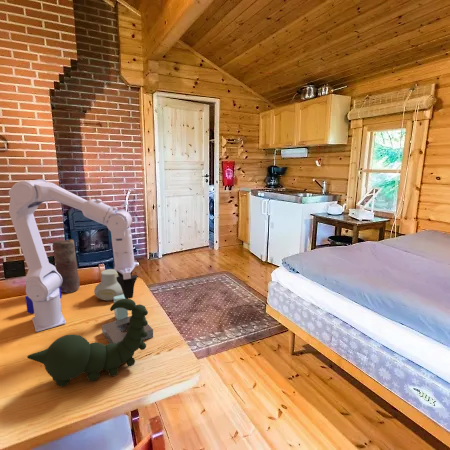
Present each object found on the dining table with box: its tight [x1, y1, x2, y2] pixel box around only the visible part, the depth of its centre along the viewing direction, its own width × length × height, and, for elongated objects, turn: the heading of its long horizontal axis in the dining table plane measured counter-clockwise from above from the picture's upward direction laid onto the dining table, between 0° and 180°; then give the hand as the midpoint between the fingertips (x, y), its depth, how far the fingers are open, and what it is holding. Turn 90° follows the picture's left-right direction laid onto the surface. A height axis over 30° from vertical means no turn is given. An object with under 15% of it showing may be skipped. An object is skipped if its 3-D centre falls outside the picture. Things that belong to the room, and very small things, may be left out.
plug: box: [113, 294, 129, 321], centre depth 96 cm, size 3×3×7 cm
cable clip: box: [24, 287, 62, 314], centre depth 104 cm, size 12×4×6 cm, turn 169°
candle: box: [52, 238, 81, 294], centre depth 114 cm, size 8×7×20 cm
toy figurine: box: [26, 298, 149, 388], centre depth 69 cm, size 9×19×25 cm
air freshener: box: [93, 268, 124, 302], centre depth 110 cm, size 11×8×10 cm
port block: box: [101, 315, 154, 344], centre depth 87 cm, size 11×11×2 cm
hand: (128, 292), depth 92 cm, fingers open, 7 cm apart
